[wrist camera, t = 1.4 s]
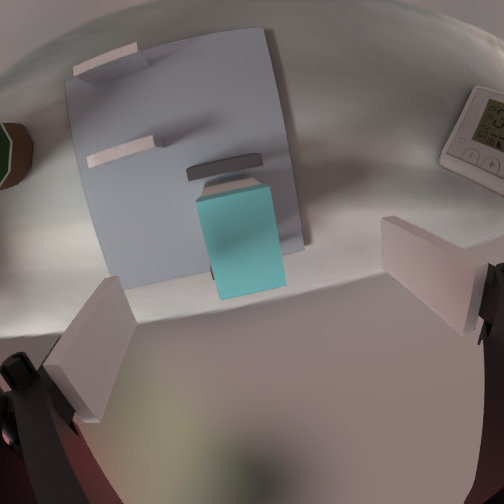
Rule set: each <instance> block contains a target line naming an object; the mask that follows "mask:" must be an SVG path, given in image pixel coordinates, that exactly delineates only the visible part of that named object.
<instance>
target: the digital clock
mask: <svg viewBox="0 0 504 504" xmlns="http://www.w3.org/2000/svg"><path fill="white" fill-rule="evenodd" d="M438 161H439V164H440V165H441V166H442V167H443V168H444V169H446V170H448V171H451V172H453V173H455V174H457V175H460V176H462V177H464V178H466V179H468V180H470V181H472V182H474V183H476V184H478V185H480V186H482V187H484V188H486V189H488V190H490V191H492V192H494V193H496V194H498V195H500V196H502V197H504V92H502V91H499V90H495V89H492V88H488V87H484V86H480V85H477V86H475V87H474V88H473V90H472V92H471V94H470V96H469V98H468V100H467V102H466V104H465V107H464V109H463V111H462V113H461V115H460V117H459V119H458V121H457V123H456V125H455V127H454V129H453V131H452V132H451V134H450V136H449V138H448V140H447V142H446V144H445V146H444V148H443V150H442V152H441V154H440V156H439V160H438Z"/></svg>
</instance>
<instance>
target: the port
mask: <svg viewBox="0 0 504 504" xmlns="http://www.w3.org/2000/svg"><path fill="white" fill-rule="evenodd" d="M149 67H150V62H149V58H148V57H147V55H146V54H145V53H144V51H143V50H142V49H141V47H140V46H139V45H138V43H137V42H135V43H132V44H129V45H126V46H123V47H120V48H117V49H115V50H112V51H109V52H107V53H104V54H102V55H99V56H97V57H94V58H92V59H90V60H87V61H85V62H83V63H81V64H78V65H76V66H74V67H73V74H74V77H76V78H78V79H80V80H82V81H84V82H86V83H89V84H91V85H93V86H97V85H100V84H102V83H105V82H108V81H110V80H113V79H116V78H118V77H121V76H124V75H127V74H130V73H133V72H136V71H139V70H142V69H145V68H149ZM162 148H166V147H165V143H164V138H163V137H159V136H155V135H150V136H147V137H143V138H140V139H137V140H134V141H130V142H127V143H124V144H121V145H118V146H115V147H112V148H110V149H107V150H104V151H101V152H98V153H96V154H93V155H90V156H88V157H86V158H87V163H88V167H89V168H93V167H99V166H105V165H110V164H113V163H116V162H119V161H122V160H125V159H128V158H131V157H135V156H138V155H141V154H145V153H148V152H152V151H155V150H159V149H162Z"/></svg>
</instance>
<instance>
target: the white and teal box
mask: <svg viewBox="0 0 504 504" xmlns="http://www.w3.org/2000/svg"><path fill="white" fill-rule="evenodd" d="M195 204H196V208H197V212H198V216H199V220H200V224H201V228H202V232H203V236H204V240H205V244H206V248H207V252H208V256H209V260H210V264H211V267H212V271H213V275H214V279H215V282H216V286H217V290H218V293H219V297H220V300H225V299H229V298H234V297H238V296H243V295H247V294H252V293H256V292H261V291H265V290H269V289H274V288H278V287H282V286H286V279H285V273H284V267H283V260H282V254H281V248H280V242H279V236H278V230H277V225H276V219H275V213H274V207H273V202H272V196H271V191H270V187H269V186H268V185H266V184H265V183H264V184H261V183H260V182H258V181H257V180H255V179H254V178H253V177H251V176H250V175H248V174H247V173H246V174H241V175H236V176H231V177H226V178H222V179H217V180H213V181H208V182H205V185H204V187H203V190H202V193H201V196H200V197H199V198H197V200H196V202H195Z"/></svg>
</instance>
